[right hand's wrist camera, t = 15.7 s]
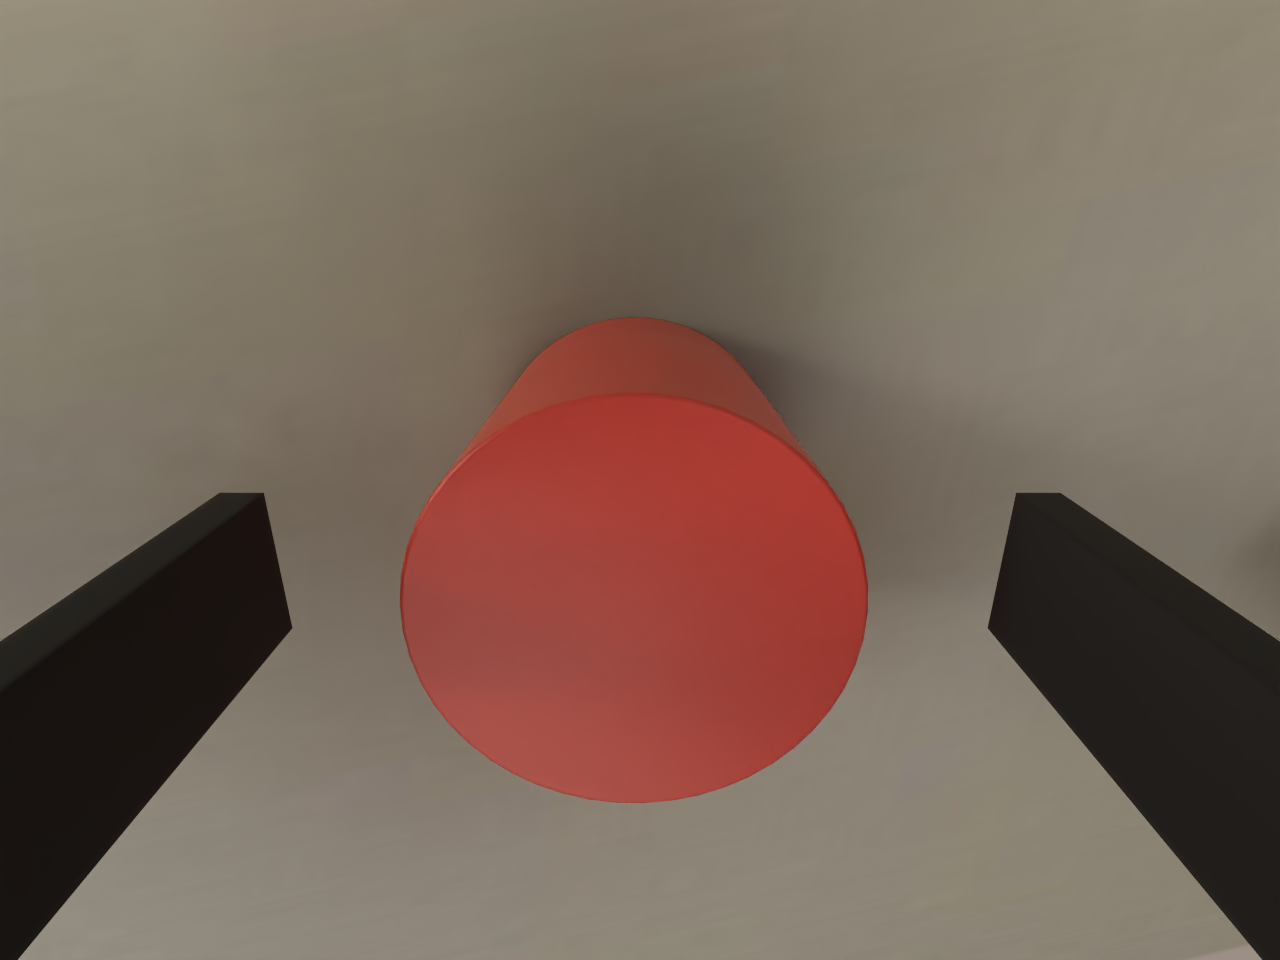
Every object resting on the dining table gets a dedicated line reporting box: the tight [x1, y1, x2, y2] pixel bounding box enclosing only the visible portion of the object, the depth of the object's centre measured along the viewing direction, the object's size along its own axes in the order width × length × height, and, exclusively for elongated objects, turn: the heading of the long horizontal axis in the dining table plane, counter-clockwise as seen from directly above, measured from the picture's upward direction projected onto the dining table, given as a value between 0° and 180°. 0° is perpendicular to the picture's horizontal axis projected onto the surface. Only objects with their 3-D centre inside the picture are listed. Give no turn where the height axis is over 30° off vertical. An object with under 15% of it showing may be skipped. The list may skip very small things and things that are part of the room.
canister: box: [400, 318, 868, 803], centre depth 15 cm, size 8×8×9 cm
